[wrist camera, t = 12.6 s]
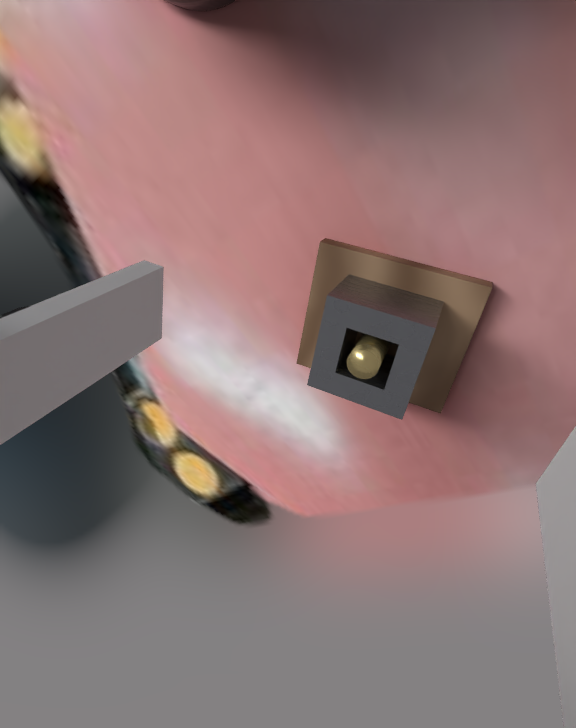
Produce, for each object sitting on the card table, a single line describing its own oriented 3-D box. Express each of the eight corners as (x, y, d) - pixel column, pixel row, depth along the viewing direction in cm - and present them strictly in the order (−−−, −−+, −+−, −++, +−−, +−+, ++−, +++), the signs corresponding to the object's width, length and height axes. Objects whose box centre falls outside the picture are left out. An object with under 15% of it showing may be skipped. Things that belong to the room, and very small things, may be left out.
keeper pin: (365, 338, 40) (343, 372, 34) (372, 313, 38) (350, 345, 33) (391, 346, 39) (374, 383, 33) (399, 321, 38) (382, 355, 32)
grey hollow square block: (329, 355, 42) (307, 385, 37) (349, 274, 38) (327, 295, 33) (413, 384, 40) (402, 419, 35) (443, 301, 36) (435, 328, 31)
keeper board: (302, 357, 45) (296, 363, 43) (325, 238, 39) (320, 241, 37) (442, 404, 41) (440, 413, 40) (492, 282, 35) (492, 287, 34)
